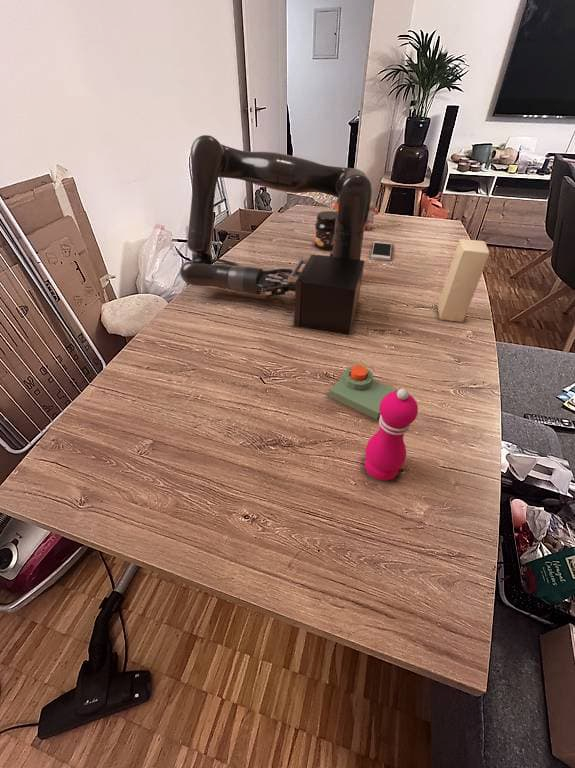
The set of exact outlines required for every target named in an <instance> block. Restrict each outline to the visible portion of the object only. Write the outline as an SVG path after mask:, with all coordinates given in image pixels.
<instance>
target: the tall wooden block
mask: <svg viewBox="0 0 575 768" xmlns="http://www.w3.org/2000/svg"><path fill="white" fill-rule="evenodd" d="M489 256H490V250H489V248H488V246H487V244H486V242H485V241H484V240H476V239H464V238H460V239H459V240H458V243H457V246H456V249H455V252H454V254H453V257H452V261H451V264H450V267H449V270H448V273H447V276H446V279H445V282H444V286H443V288H442V290H441V291H442V292H441V294H440V298H439V300H438V303H437V311H438V317H439V320H441V321H449V322H456V323H457V322H458V323H463V322H464V321H465V317H466V315H467V312H468V310H469V307H470V304H471V303H472V300H473V298H474V294H475V292H476V290H477V287H478V285H479V282H480V279H481V276H482V274H483V272H484V269H485V267H486V264H487V262H488V260H489Z"/></svg>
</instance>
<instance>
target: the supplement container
mask: <svg viewBox="0 0 575 768" xmlns="http://www.w3.org/2000/svg"><path fill="white" fill-rule="evenodd" d="M337 214H338V212H336V211H335V210H323V211H320V212H318V213H317V214H316V221H315V223H314V242H313V243H314V246H315V247H316V248H317V249H319V250H321V251H333V243H334V232H335V221H336V218H337Z"/></svg>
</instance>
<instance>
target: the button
mask: <svg viewBox="0 0 575 768" xmlns="http://www.w3.org/2000/svg"><path fill="white" fill-rule="evenodd" d="M352 366H353V367H352ZM352 366H351V367H352V369H351V374H350V376H351V378H352V379H353V380H356V381H363V380H365V379H366V376H367V369H368V368H367V367H365V366H363V365H358V364H357V365H352ZM366 368H367V369H366Z"/></svg>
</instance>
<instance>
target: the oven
mask: <svg viewBox="0 0 575 768" xmlns="http://www.w3.org/2000/svg"><path fill="white" fill-rule="evenodd" d="M316 255H317V256H316V257H315V259H314V261H313V263H312V265H311V267H310V268H309V270H308V272H307V274H306V276H305V277H304V279H303V281H302V292H301V319H300V326H299V327H300V328H303V329H310V330H316V331H322V332H328V333H334V334H340V335H345V336H350V333H351V330H352V326H353V322H354V320H355V315H356V312H357V308H358V306H359V299H360V293H361V287H362V280H363V274H364V267H365V260H362V259H360V260H355V259H347V258H339V257H331V256H330V255H323V254H316Z"/></svg>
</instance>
